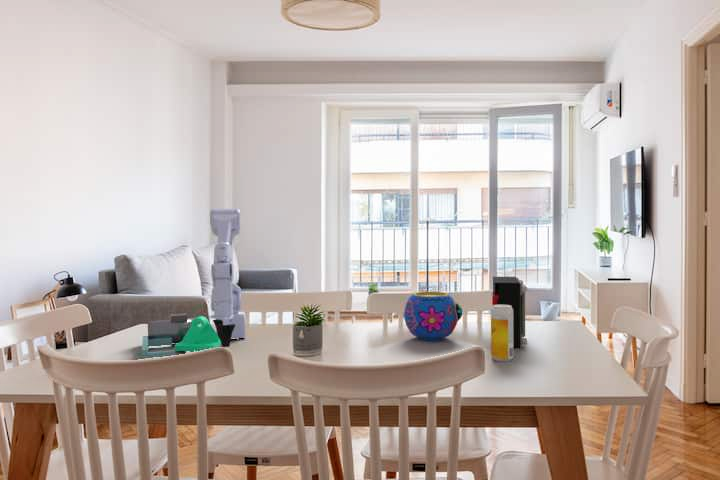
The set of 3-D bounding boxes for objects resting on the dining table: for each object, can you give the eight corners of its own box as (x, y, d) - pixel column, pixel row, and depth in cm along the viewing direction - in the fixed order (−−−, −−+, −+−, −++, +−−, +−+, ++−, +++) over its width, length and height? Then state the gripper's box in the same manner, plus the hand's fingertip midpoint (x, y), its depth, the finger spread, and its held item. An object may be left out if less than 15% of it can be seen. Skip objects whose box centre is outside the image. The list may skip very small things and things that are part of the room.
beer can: (497, 355, 162) (496, 303, 161) (517, 358, 158) (516, 305, 157) (487, 359, 157) (487, 306, 156) (507, 363, 153) (507, 308, 152)
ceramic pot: (468, 342, 179) (468, 295, 178) (417, 347, 173) (416, 298, 173) (444, 332, 195) (443, 289, 195) (396, 336, 190) (395, 291, 189)
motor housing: (199, 339, 189) (198, 311, 189) (201, 344, 182) (200, 315, 181) (148, 343, 184) (147, 314, 183) (148, 348, 176) (147, 318, 176)
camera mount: (173, 354, 169) (172, 320, 169) (183, 348, 177) (183, 316, 177) (212, 354, 168) (211, 320, 168) (221, 348, 176) (220, 316, 176)
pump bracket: (171, 346, 180) (171, 333, 179) (174, 361, 160) (173, 347, 160) (143, 348, 177) (142, 336, 176) (142, 364, 157) (141, 350, 157)
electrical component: (527, 349, 168) (527, 282, 168) (492, 348, 171) (492, 282, 170) (522, 337, 186) (522, 276, 185) (491, 336, 188) (490, 276, 187)
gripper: (207, 298, 180) (208, 340, 180) (212, 304, 166) (213, 350, 167) (230, 297, 182) (231, 338, 183) (236, 303, 169) (237, 348, 169)
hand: (224, 344), depth 175 cm, fingers open, 7 cm apart
